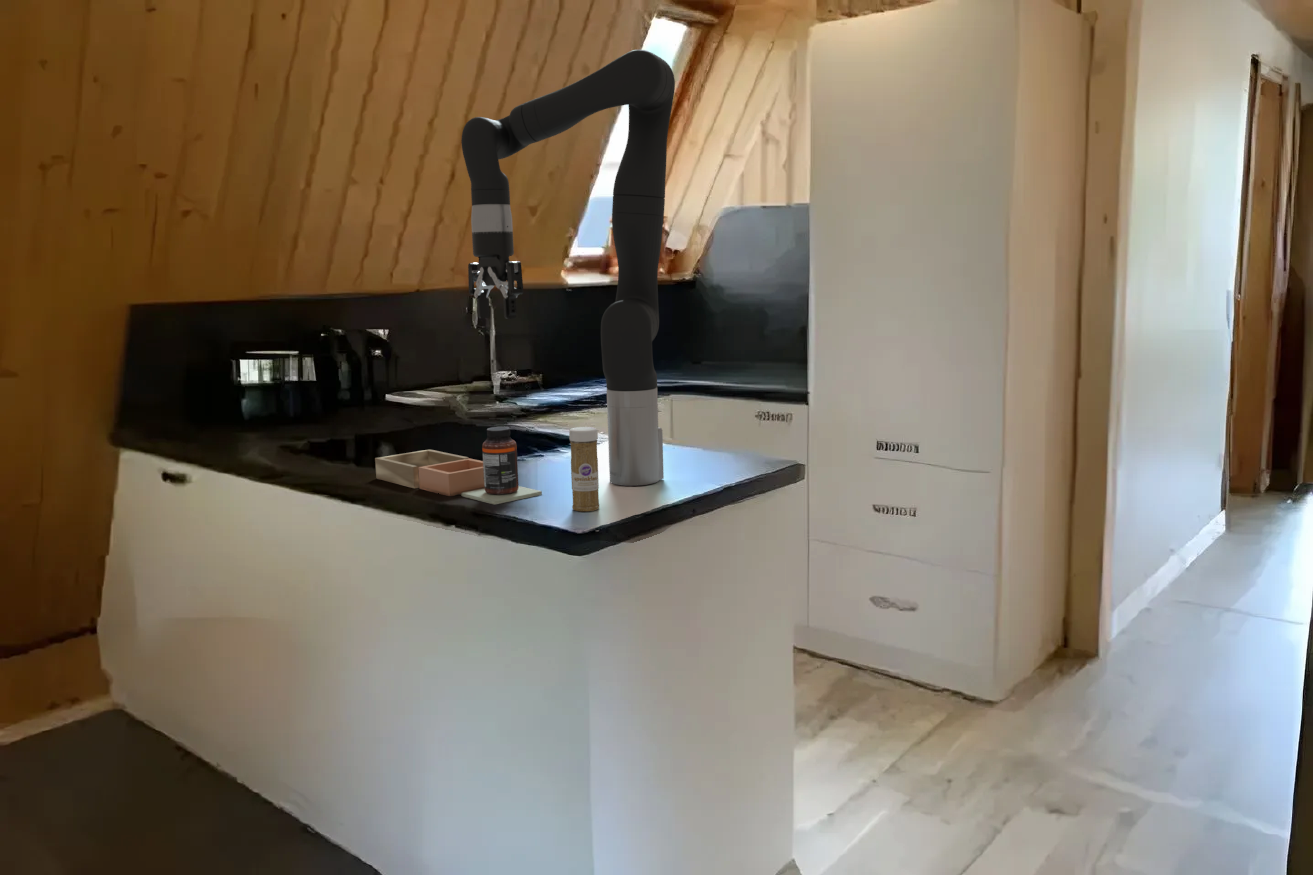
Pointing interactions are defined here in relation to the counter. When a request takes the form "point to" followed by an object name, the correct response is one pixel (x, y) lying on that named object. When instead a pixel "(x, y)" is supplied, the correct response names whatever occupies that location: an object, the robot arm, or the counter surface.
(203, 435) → the counter surface
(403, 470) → the beige open box
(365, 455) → the counter surface
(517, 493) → the pad
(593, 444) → the sprinkles bottle
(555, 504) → the counter surface
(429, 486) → the pink open box
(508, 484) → the supplement bottle
